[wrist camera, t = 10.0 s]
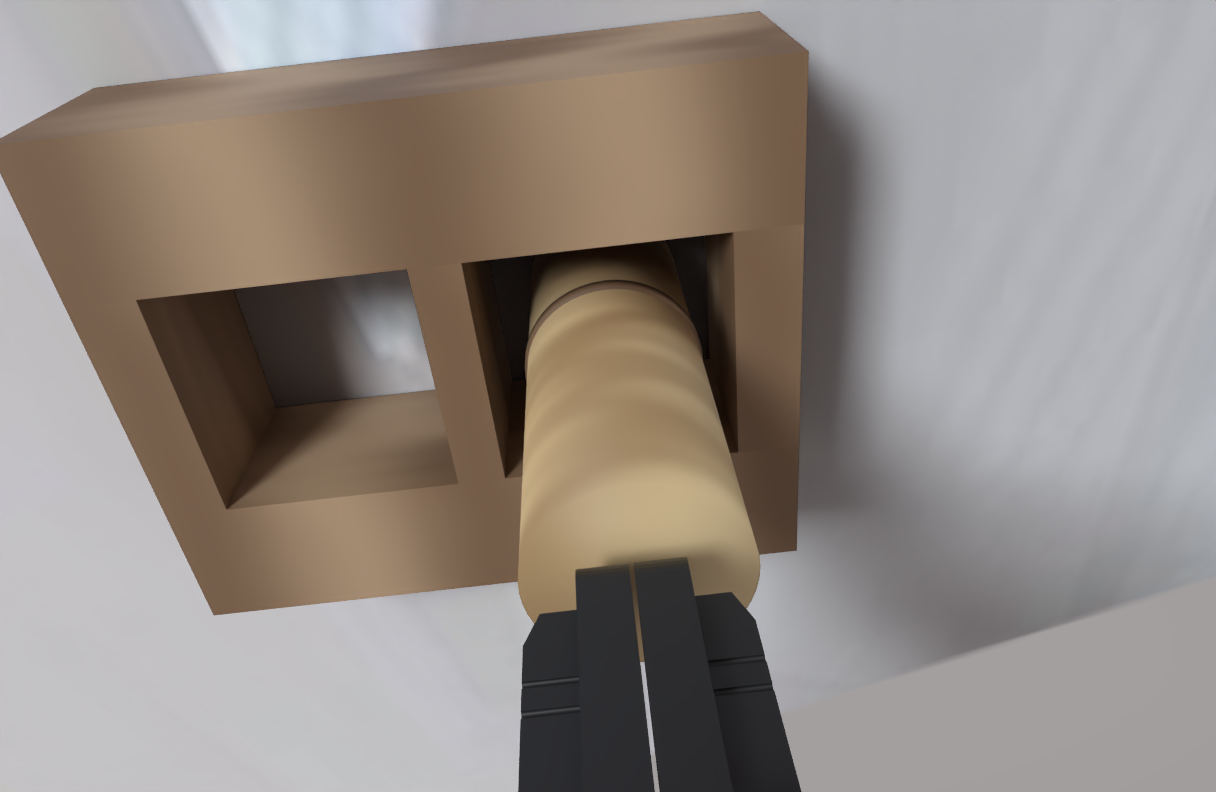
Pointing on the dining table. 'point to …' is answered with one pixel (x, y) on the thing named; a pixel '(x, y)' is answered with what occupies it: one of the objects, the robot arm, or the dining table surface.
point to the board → (413, 277)
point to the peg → (623, 433)
